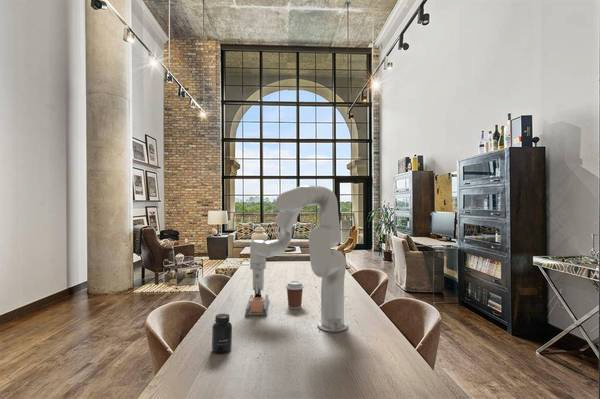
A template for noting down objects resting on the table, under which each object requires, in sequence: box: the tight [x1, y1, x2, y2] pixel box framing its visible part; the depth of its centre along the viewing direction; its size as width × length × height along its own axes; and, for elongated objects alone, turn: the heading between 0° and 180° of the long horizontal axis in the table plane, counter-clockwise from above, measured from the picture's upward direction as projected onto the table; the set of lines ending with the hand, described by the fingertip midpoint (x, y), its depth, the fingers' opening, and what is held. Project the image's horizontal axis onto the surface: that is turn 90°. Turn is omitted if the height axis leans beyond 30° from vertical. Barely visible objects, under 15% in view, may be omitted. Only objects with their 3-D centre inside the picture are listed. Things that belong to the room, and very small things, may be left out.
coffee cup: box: [285, 280, 305, 310], centre depth 163 cm, size 9×9×12 cm
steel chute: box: [244, 294, 270, 317], centre depth 161 cm, size 22×10×4 cm, turn 3°
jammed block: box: [249, 296, 265, 312], centre depth 155 cm, size 6×6×5 cm
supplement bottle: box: [211, 313, 233, 355], centre depth 116 cm, size 7×7×12 cm
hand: (257, 303), depth 160 cm, fingers closed
